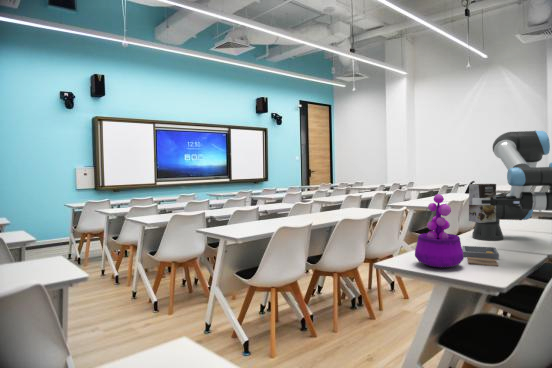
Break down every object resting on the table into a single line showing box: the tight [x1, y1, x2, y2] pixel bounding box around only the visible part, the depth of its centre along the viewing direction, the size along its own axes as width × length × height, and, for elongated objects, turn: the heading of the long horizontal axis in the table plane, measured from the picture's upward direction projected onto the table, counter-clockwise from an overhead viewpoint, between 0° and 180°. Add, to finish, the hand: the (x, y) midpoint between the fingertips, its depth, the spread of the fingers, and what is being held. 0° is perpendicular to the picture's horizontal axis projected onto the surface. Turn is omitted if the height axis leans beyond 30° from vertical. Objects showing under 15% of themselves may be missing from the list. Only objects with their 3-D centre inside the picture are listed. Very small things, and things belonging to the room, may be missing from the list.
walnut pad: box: [466, 257, 499, 267], centre depth 170 cm, size 11×11×1 cm
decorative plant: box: [414, 193, 465, 269], centre depth 165 cm, size 19×18×30 cm
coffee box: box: [468, 183, 497, 223], centre depth 170 cm, size 9×6×16 cm
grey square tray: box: [461, 245, 500, 261], centre depth 183 cm, size 14×14×3 cm
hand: (471, 200), depth 171 cm, fingers closed on coffee box, 10 cm apart
